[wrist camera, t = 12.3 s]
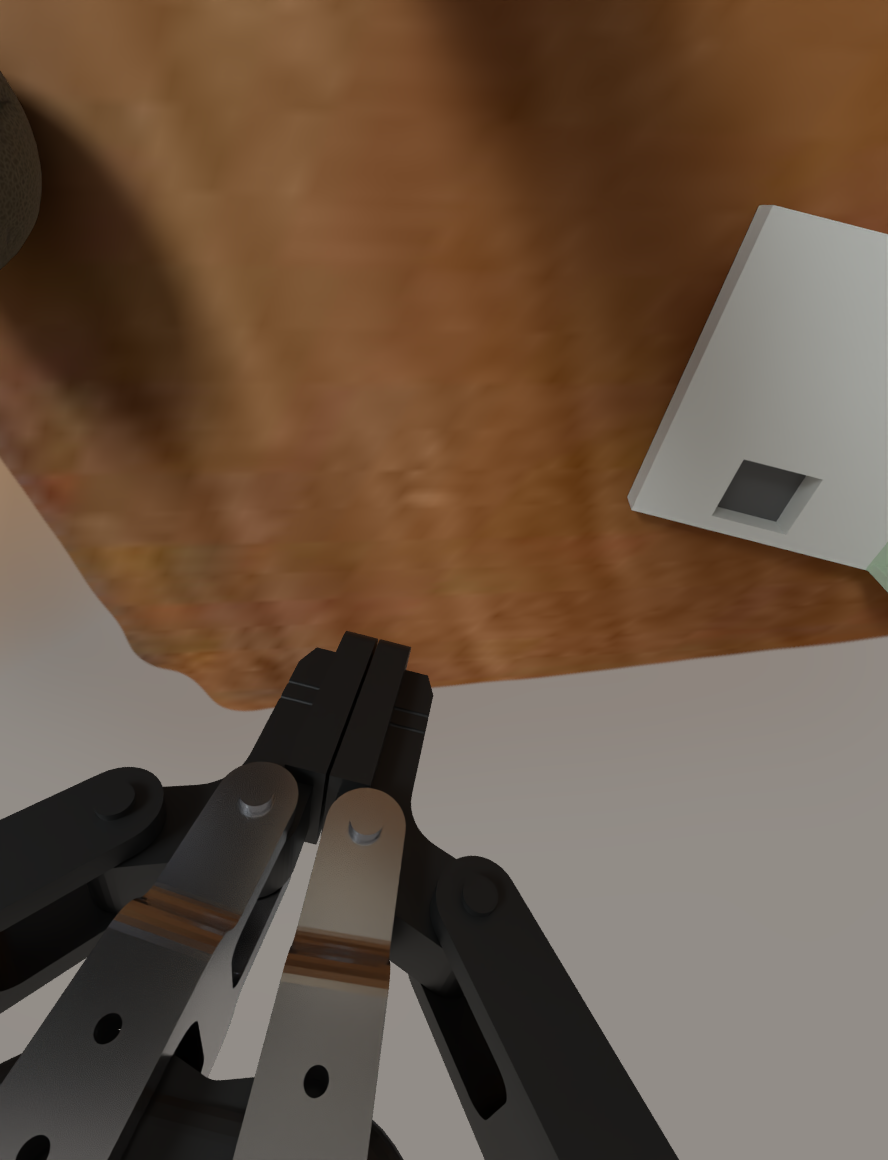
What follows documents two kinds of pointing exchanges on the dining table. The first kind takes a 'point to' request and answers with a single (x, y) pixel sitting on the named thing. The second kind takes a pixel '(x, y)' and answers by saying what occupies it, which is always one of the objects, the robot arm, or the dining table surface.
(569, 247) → the dining table surface
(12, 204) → the cantaloupe
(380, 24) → the dining table surface
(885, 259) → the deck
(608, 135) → the dining table surface
